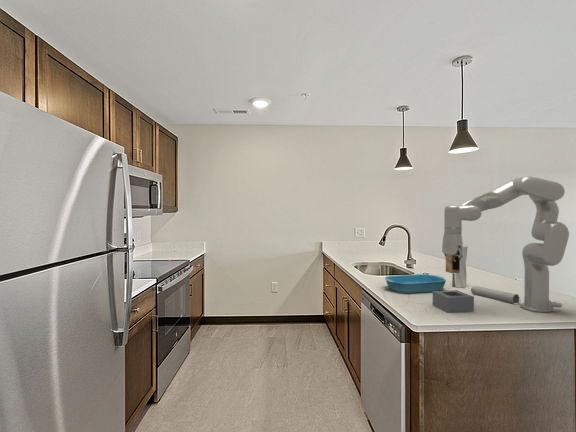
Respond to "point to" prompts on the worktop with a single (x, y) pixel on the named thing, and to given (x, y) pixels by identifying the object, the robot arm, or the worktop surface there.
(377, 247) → the worktop surface
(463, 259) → the skyscraper
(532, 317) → the worktop surface
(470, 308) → the socket
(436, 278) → the casserole dish
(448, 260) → the peg
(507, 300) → the tube
